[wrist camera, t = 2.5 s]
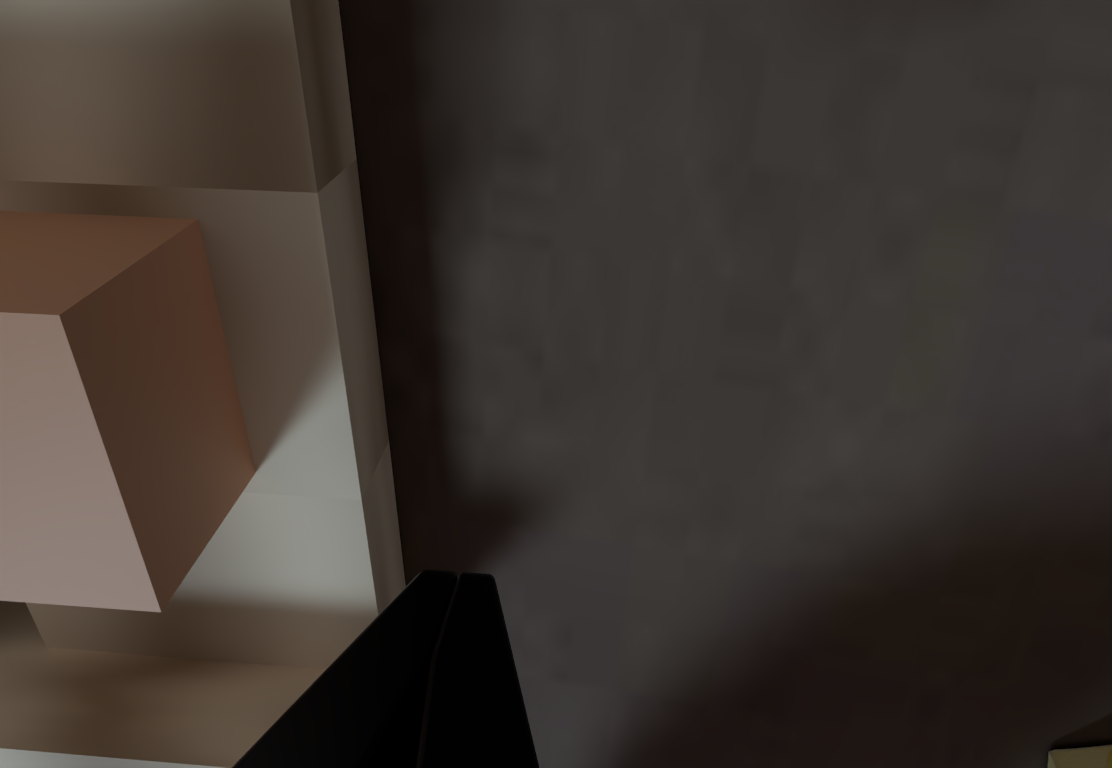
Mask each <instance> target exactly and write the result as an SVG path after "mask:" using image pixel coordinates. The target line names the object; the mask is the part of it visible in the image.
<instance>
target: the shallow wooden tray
mask: <svg viewBox="0 0 1112 768" xmlns="http://www.w3.org/2000/svg"><path fill="white" fill-rule="evenodd" d="M0 211H18V212H41V213H65V214H89V215H112V216H136V217H160V218H184V219H198V221H199V226H200V230H201V235H202V239H203V243H204V248H205V252H206V257H207V261H208V265H209V270H210V274H211V279H212V283H213V287H214V292H215V296H216V301H217V305H218V309H219V314H220V318H221V323H222V327H223V331H224V336H225V340H226V345H227V349H228V353H229V358H230V362H231V367H232V371H233V375H234V380H235V384H236V389H237V393H238V397H239V402H240V406H241V411H242V415H243V419H244V424H245V428H246V433H247V437H248V441H249V446H250V450H251V455H252V459H253V463H254V468H255V472H256V473H255V475H254V476H253V477H252V479H251V480H250V482H249V483H248V485H247V486H246V488H245V489H244V491H243V492H242V494H241V495H240V497H239V498H238V500H237V501H236V503H235V504H234V506H233V507H232V509H231V510H230V512H229V513H228V515H227V516H226V517H225V519H224V520H223V522H222V523H221V525H220V526H219V528H218V529H217V531H216V532H215V534H214V535H213V537H212V538H211V540H210V541H209V543H208V544H207V546H206V547H205V549H204V550H203V552H202V553H201V555H200V556H199V557H198V559H197V560H196V562H195V563H194V565H193V566H192V568H191V569H190V571H189V572H188V574H187V575H186V577H185V578H184V580H183V581H182V583H181V584H180V586H179V587H178V589H177V590H176V592H175V593H174V595H173V596H172V597H171V599H170V600H169V602H168V603H167V605H166V606H165V608H164V609H163V611H162V612H148V611H135V610H121V609H108V608H94V607H80V606H67V605H53V604H40V603H26V602H13V601H0V768H232V767H233V766H234V765H235V764H236V762H237V761H238V760H239V759H240V758H241V757H242V756H243V755H244V754H245V753H246V752H247V751H248V750H249V749H250V748H251V747H252V746H253V745H254V744H255V743H256V742H257V741H258V740H259V739H260V738H261V736H262V735H263V734H264V733H265V732H266V731H267V730H268V729H269V728H270V727H271V726H272V725H273V724H274V723H275V722H276V721H277V720H278V719H279V718H280V717H281V716H282V715H283V714H284V713H285V712H286V711H287V709H288V708H289V707H290V706H291V705H292V704H293V703H294V702H295V701H296V700H297V699H298V698H299V697H300V696H301V695H302V694H303V693H304V692H305V691H306V690H307V689H308V688H309V687H310V686H311V685H312V684H313V682H314V681H315V680H316V679H317V678H318V677H319V676H320V675H321V674H322V673H323V672H324V671H325V670H326V669H327V668H328V667H329V666H330V665H331V664H332V663H333V662H334V661H335V660H336V659H337V658H338V657H339V655H340V654H341V653H342V652H343V651H344V650H345V649H346V648H347V647H348V646H349V645H350V644H351V643H352V642H353V641H354V640H355V639H356V638H357V637H358V636H359V635H360V634H361V633H362V632H363V631H364V630H365V628H366V627H367V626H368V625H369V624H370V623H371V622H372V621H373V620H374V619H375V618H376V617H377V616H378V615H379V614H380V613H381V612H382V611H383V610H384V609H385V608H386V607H387V606H388V605H389V604H390V603H391V601H392V600H393V599H394V598H395V597H396V596H397V595H398V594H399V593H400V592H401V591H402V590H403V589H404V588H405V587H406V585H405V576H404V568H403V559H402V550H401V541H400V533H399V524H398V515H397V507H396V498H395V489H394V480H393V472H392V463H391V454H390V446H389V437H388V428H387V419H386V411H385V402H384V393H383V385H382V376H381V367H380V358H379V350H378V341H377V332H376V324H375V315H374V306H373V298H372V289H371V280H370V271H369V263H368V254H367V245H366V237H365V228H364V219H363V210H362V202H361V193H360V184H359V176H358V167H357V158H356V149H355V141H354V132H353V123H352V115H351V106H350V97H349V88H348V80H347V71H346V62H345V54H344V45H343V36H342V28H341V19H340V10H339V1H338V0H0Z"/></svg>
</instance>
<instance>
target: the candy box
mask: <svg viewBox="0 0 1112 768" xmlns="http://www.w3.org/2000/svg"><path fill="white" fill-rule="evenodd" d="M1047 768H1112V745H1104V746H1095V747H1085V748H1074V749H1056V750H1051V751H1048V765H1047Z"/></svg>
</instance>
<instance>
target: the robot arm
mask: <svg viewBox="0 0 1112 768" xmlns="http://www.w3.org/2000/svg"><path fill="white" fill-rule="evenodd" d="M232 768H539V764H538V760H537V756H536V752H535V747H534V743H533V739H532V735H531V730H530V726H529V722H528V718H527V713H526V709H525V705H524V701H523V696H522V692H521V688H520V684H519V679H518V675H517V671H516V667H515V662H514V658H513V654H512V650H511V645H510V641H509V637H508V633H507V628H506V624H505V620H504V616H503V611H502V607H501V603H500V599H499V594H498V590H497V586H496V582H495V578H494V577H493V576H492V575H491V574H481V573H467V572H464V573H461V574H460V575H459V576H457V574H455V573H454V572H451V571H437V570H424V571H422V572H420V573H419V574H418V575H417V576H416V577H415V578H414V579H413V580H412V581H411V582H410V583H409V584H408V585H407V586H406V587H405V588H404V589H403V590H402V591H401V592H400V593H399V594H398V595H397V596H396V597H395V598H394V599H393V600H392V601H391V603H390V604H389V605H388V606H387V607H386V608H385V609H384V610H383V611H382V612H381V613H380V614H379V615H378V616H377V617H376V618H375V619H374V620H373V621H372V622H371V623H370V624H369V625H368V626H367V627H366V628H365V630H364V631H363V632H362V633H361V634H360V635H359V636H358V637H357V638H356V639H355V640H354V641H353V642H352V643H351V644H350V645H349V646H348V647H347V648H346V649H345V650H344V651H343V652H342V653H341V654H340V655H339V657H338V658H337V659H336V660H335V661H334V662H333V663H332V664H331V665H330V666H329V667H328V668H327V669H326V670H325V671H324V672H323V673H322V674H321V675H320V676H319V677H318V678H317V679H316V680H315V681H314V682H313V684H312V685H311V686H310V687H309V688H308V689H307V690H306V691H305V692H304V693H303V694H302V695H301V696H300V697H299V698H298V699H297V700H296V701H295V702H294V703H293V704H292V705H291V706H290V707H289V708H288V709H287V711H286V712H285V713H284V714H283V715H282V716H281V717H280V718H279V719H278V720H277V721H276V722H275V723H274V724H273V725H272V726H271V727H270V728H269V729H268V730H267V731H266V732H265V733H264V734H263V735H262V736H261V738H260V739H259V740H258V741H257V742H256V743H255V744H254V745H253V746H252V747H251V748H250V749H249V750H248V751H247V752H246V753H245V754H244V755H243V756H242V757H241V758H240V759H239V760H238V761H237V762H236V764H235V765H234V766H233V767H232Z"/></svg>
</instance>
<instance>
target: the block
mask: <svg viewBox="0 0 1112 768" xmlns="http://www.w3.org/2000/svg"><path fill="white" fill-rule="evenodd" d="M255 473H256V472H255V468H254V463H253V459H252V455H251V450H250V446H249V441H248V437H247V433H246V428H245V424H244V419H243V415H242V411H241V406H240V402H239V397H238V393H237V389H236V384H235V380H234V375H233V371H232V367H231V362H230V358H229V353H228V349H227V345H226V340H225V336H224V331H223V327H222V323H221V318H220V314H219V309H218V305H217V301H216V296H215V292H214V287H213V283H212V279H211V274H210V270H209V265H208V261H207V257H206V252H205V248H204V243H203V239H202V235H201V230H200V226H199V221H198V219H184V218H160V217H136V216H112V215H89V214H65V213H41V212H18V211H0V601H13V602H26V603H40V604H53V605H67V606H80V607H94V608H108V609H121V610H135V611H148V612H162V611H163V609H164V608H165V606H166V605H167V603H168V602H169V600H170V599H171V597H172V596H173V595H174V593H175V592H176V590H177V589H178V587H179V586H180V584H181V583H182V581H183V580H184V578H185V577H186V575H187V574H188V572H189V571H190V569H191V568H192V566H193V565H194V563H195V562H196V560H197V559H198V557H199V556H200V555H201V553H202V552H203V550H204V549H205V547H206V546H207V544H208V543H209V541H210V540H211V538H212V537H213V535H214V534H215V532H216V531H217V529H218V528H219V526H220V525H221V523H222V522H223V520H224V519H225V517H226V516H227V515H228V513H229V512H230V510H231V509H232V507H233V506H234V504H235V503H236V501H237V500H238V498H239V497H240V495H241V494H242V492H243V491H244V489H245V488H246V486H247V485H248V483H249V482H250V480H251V479H252V477H253V476H254V475H255Z"/></svg>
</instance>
